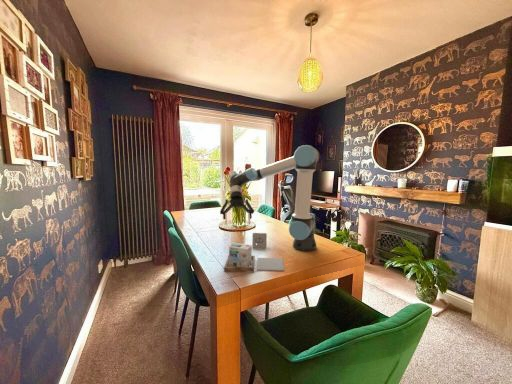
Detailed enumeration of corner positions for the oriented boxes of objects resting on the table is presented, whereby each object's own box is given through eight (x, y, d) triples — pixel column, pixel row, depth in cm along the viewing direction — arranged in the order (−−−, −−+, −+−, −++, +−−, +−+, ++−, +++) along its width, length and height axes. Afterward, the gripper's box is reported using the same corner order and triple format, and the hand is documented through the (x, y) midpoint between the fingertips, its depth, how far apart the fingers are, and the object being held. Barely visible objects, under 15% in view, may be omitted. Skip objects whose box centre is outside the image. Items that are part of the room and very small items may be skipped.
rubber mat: (281, 259, 122) (281, 258, 122) (284, 271, 109) (284, 269, 108) (257, 258, 123) (257, 257, 123) (257, 270, 109) (257, 269, 109)
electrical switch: (252, 247, 139) (252, 233, 139) (252, 245, 144) (253, 231, 144) (266, 248, 138) (266, 234, 138) (266, 246, 144) (266, 232, 143)
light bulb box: (228, 266, 114) (228, 246, 112) (234, 260, 120) (234, 242, 118) (247, 269, 110) (247, 249, 109) (252, 263, 116) (252, 244, 115)
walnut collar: (254, 259, 122) (254, 255, 122) (254, 271, 107) (254, 268, 107) (228, 258, 122) (228, 255, 122) (224, 271, 108) (224, 267, 107)
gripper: (254, 197, 141) (258, 226, 128) (216, 197, 137) (216, 227, 124) (256, 190, 135) (259, 219, 122) (216, 190, 131) (215, 220, 118)
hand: (237, 223), depth 123 cm, fingers open, 13 cm apart
